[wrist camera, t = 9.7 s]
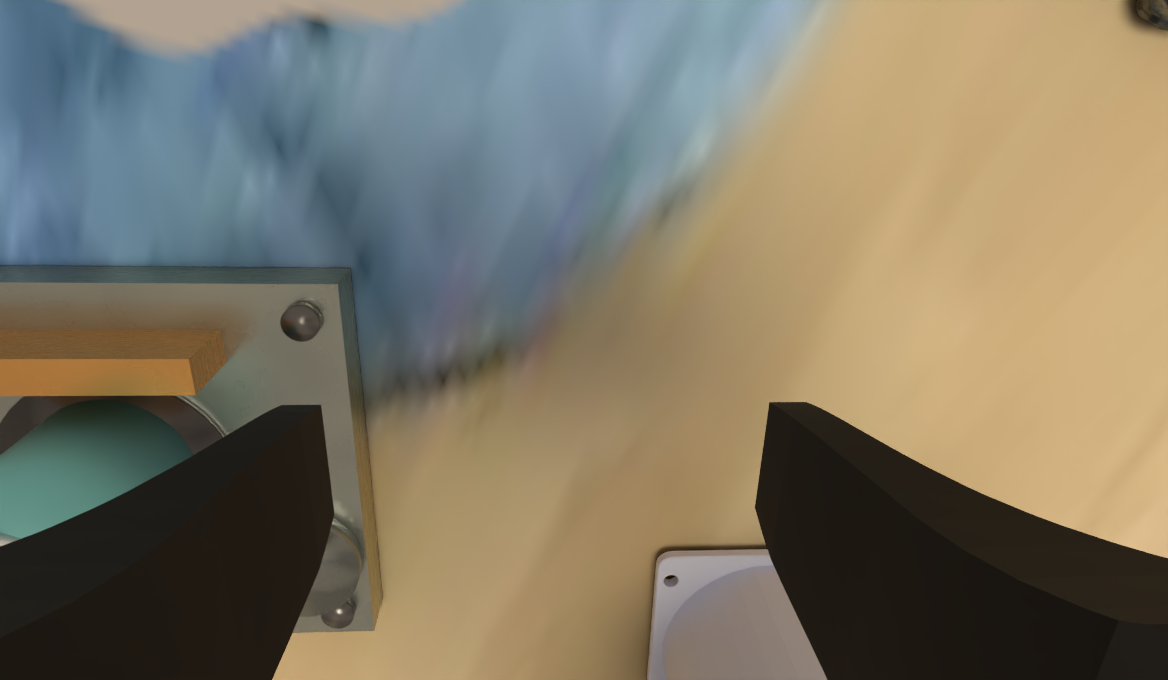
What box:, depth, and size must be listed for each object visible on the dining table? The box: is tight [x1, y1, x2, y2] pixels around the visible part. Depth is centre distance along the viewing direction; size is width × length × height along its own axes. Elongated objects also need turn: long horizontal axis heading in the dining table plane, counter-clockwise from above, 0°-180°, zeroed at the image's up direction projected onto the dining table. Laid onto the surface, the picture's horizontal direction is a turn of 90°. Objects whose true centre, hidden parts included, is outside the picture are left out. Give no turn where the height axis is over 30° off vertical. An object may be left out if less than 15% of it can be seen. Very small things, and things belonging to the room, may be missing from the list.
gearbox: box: [0, 266, 383, 633], centre depth 21 cm, size 12×11×4 cm
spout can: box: [0, 400, 193, 546], centre depth 18 cm, size 4×4×6 cm
